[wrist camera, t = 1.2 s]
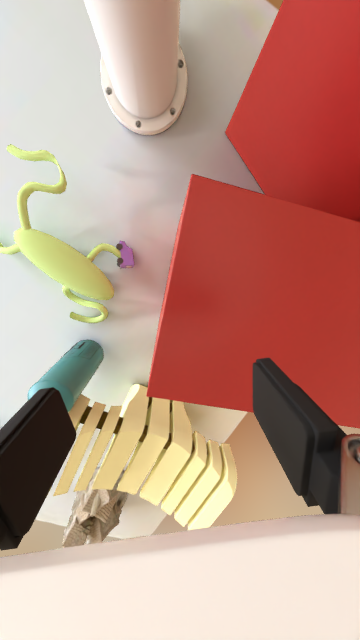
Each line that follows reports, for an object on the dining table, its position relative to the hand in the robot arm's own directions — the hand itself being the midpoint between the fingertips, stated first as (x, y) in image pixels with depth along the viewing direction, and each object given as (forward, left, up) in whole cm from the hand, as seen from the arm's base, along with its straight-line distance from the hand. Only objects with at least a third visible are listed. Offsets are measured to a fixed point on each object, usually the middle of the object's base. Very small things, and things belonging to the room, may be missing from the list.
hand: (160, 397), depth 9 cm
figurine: (-4, -20, -32) cm, 37 cm away
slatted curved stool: (+30, +1, -31) cm, 44 cm away
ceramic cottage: (+59, -6, -32) cm, 67 cm away
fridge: (-3, +12, -31) cm, 34 cm away
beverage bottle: (+16, -14, -31) cm, 38 cm away
